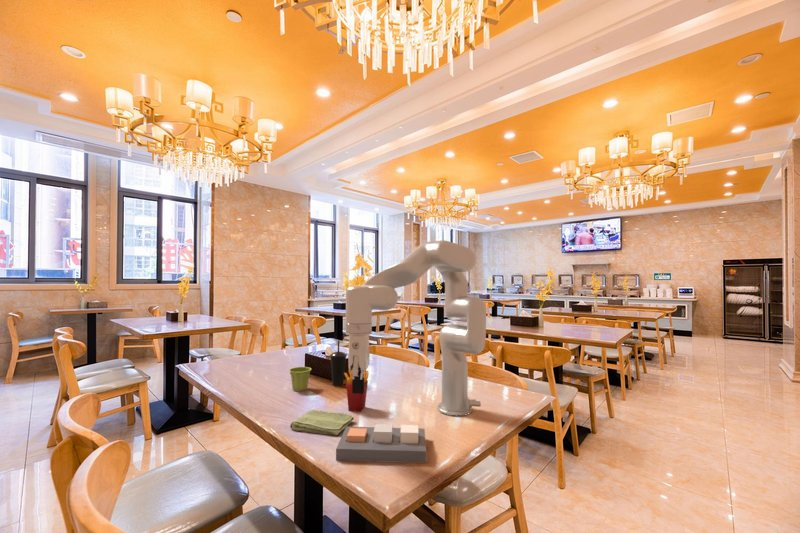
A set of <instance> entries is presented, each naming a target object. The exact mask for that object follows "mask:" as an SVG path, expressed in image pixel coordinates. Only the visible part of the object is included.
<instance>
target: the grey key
mask: <svg viewBox="0 0 800 533" xmlns="http://www.w3.org/2000/svg"><path fill="white" fill-rule="evenodd" d="M393 425H394V424H384V423H383V424H382V423H381V424H379V423H378V424H377V423H376V424H375V425H374V427H375V428H374V442H377V443H392V430H393V428H394V427H393Z"/></svg>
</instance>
